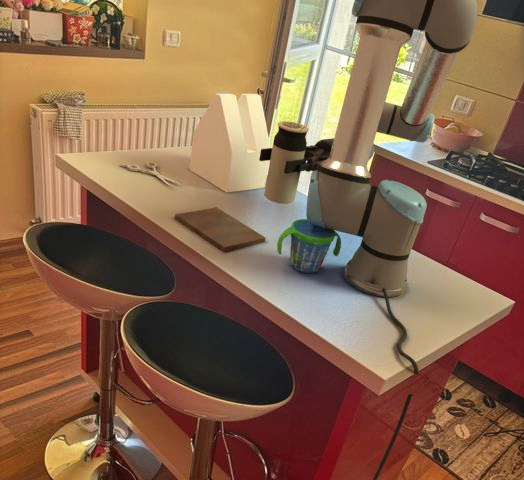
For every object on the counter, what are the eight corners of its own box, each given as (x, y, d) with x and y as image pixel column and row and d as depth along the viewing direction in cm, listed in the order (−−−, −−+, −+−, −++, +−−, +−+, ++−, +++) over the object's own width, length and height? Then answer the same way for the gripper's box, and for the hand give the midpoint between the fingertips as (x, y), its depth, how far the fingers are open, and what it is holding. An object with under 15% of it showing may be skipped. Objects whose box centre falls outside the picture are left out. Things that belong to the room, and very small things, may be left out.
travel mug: (258, 197, 137) (271, 123, 127) (271, 189, 144) (285, 118, 133) (286, 207, 135) (302, 133, 125) (299, 199, 141) (314, 127, 131)
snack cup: (277, 274, 127) (286, 234, 121) (269, 253, 135) (277, 215, 129) (339, 280, 131) (351, 241, 125) (328, 259, 139) (339, 222, 133)
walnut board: (264, 241, 140) (265, 237, 140) (223, 251, 131) (224, 247, 131) (215, 211, 151) (216, 206, 150) (174, 218, 142) (174, 214, 141)
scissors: (149, 160, 171) (191, 182, 162) (149, 162, 172) (190, 185, 162) (120, 163, 164) (163, 187, 155) (120, 166, 165) (162, 190, 155)
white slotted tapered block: (189, 169, 174) (198, 85, 159) (227, 165, 183) (238, 85, 168) (226, 192, 163) (239, 104, 149) (264, 187, 173) (279, 104, 158)
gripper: (358, 181, 142) (301, 192, 127) (300, 154, 152) (241, 161, 138) (366, 152, 138) (308, 160, 123) (306, 126, 148) (246, 131, 133)
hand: (273, 161), depth 130 cm, fingers closed on travel mug, 8 cm apart
